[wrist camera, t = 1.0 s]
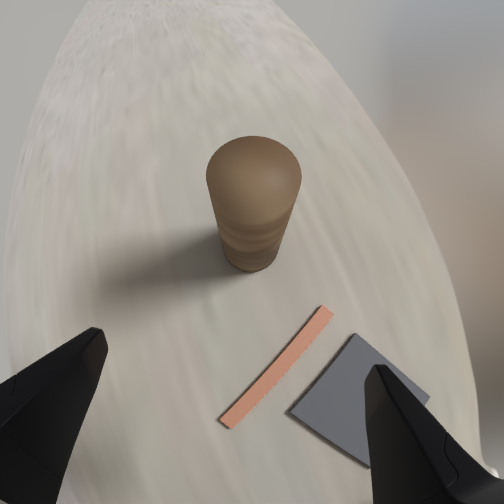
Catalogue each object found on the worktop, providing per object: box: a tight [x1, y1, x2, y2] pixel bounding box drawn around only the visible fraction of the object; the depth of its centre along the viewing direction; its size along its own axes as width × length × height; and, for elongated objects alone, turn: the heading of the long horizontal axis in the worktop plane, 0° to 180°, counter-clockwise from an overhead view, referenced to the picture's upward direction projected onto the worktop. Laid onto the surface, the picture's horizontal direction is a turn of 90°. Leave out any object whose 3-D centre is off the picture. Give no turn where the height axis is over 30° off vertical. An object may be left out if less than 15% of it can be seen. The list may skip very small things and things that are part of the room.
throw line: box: [220, 305, 334, 429], centre depth 21 cm, size 12×1×1 cm, turn 139°
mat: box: [290, 333, 430, 466], centre depth 20 cm, size 8×10×1 cm
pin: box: [206, 136, 302, 272], centre depth 18 cm, size 4×4×11 cm
